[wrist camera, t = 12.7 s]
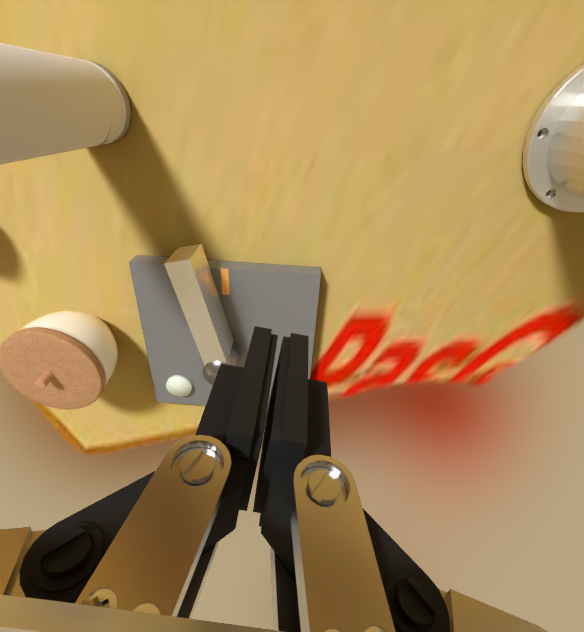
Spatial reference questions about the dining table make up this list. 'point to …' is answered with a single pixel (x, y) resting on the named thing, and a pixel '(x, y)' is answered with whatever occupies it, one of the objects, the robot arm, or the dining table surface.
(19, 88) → the travel mug
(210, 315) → the light grey rectangular bar
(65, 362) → the lidded jar
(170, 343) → the base
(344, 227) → the dining table surface
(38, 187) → the dining table surface
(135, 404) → the dining table surface
